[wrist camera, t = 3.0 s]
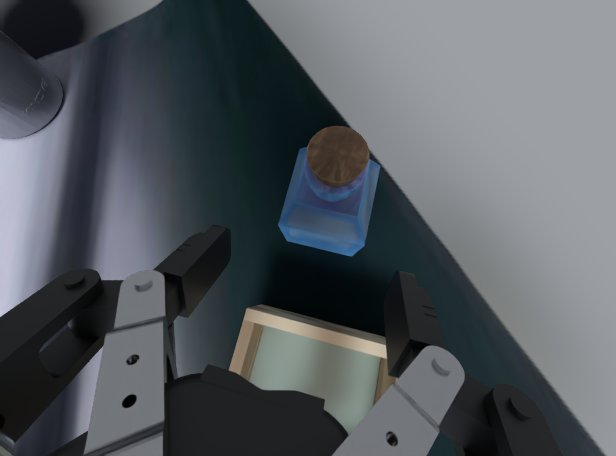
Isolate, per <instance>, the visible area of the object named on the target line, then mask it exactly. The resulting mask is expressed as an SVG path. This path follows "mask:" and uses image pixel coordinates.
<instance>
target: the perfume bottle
mask: <svg viewBox="0 0 616 456" xmlns="http://www.w3.org/2000/svg"><path fill="white" fill-rule="evenodd" d="M379 170H380V165H378V164H377V163H375V162H373V161H372V160H370V159H369V149H368V146H367V143H366V141H365V140H364V139H363V137H362V136H361V135H360V134H359V133H357V132H356V131H355V130H353V129H350V128H347V127H344V126H332V127H327V128H324V129H323V130H321V131H319V132H317V133H316V134H315V135H314V136H313V137H312V138H311V140H310V142H309V144H308V147H306V148H301V149H300V150H299V154H298V157H297V161H296V164H295V168H294V171H293V175H292V178H291V182H290V185H289V189H288V192H287V196H286V199H285V203H284V206H283V210H282V213H281V217H280V220H279V224H278V226H279V228H280V229H281V231H282V233H283V235H284V236H285V238H286V240H287V241H289V242H293V243H298V244H302V245H306V246H310V247H314V248H318V249H322V250H326V251H330V252H335V253H339V254H343V255H347V256H353V255H354V254H355V253H356V252H357V251H359V250H360V249H361V248H362V247H363V246H364V245H365V240H366V235H367V230H368V225H369V220H370V215H371V210H372V205H373V200H374V195H375V190H376V185H377V180H378V175H379Z"/></svg>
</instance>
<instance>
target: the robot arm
mask: <svg viewBox="0 0 616 456" xmlns="http://www.w3.org/2000/svg"><path fill="white" fill-rule="evenodd" d="M62 97H63V90H62V86H61V83H60V81H59V80H58V79H57V77H56V76H54V75H53V74H52V73H51V72H50V71H48V70H47V69H46V68H45V67H44V66H42V65H41V64H40V63H39V62H37V61H36V60H35V59H34V58H33V57H31V56H30V55H29V54H28V53H26V52H25V51H24V50H23V49H22V48H20V47H19V46H18V45H17V44H16V43H15V42H13V41H12V40H11V39H10V38H9V37H7V36H6V35H5V34H4V33H3V32H1V31H0V138H3V139H16V138H22V137H25V136H28V135H30V134H32V133H34V132H36V131H38V130H40V129H41V128H42V127H44V126H45V125H46V124H47V123H48V122H49V121H50V120H51V119H52V118H53V117H54V116H55V114H56V113H57V111H58V109H59V107H60V105H61V102H62ZM230 256H231V233H230V229H229V228H225V227H221V226H217V225H212V226H211V227H210V228H209V229H208V230H207V231H206V232H205V233H202V232H200V233H198V234H195V235H193V236H191V237H189V238H188V239H187V240H186V241H185V242H184V243H183V244H182V245H180V246H179V247H178V248H177V250H175V251H174V252H173V253H171V254H170V255H169V256H168V257H167V258H166V259H165V260H164V261H163V262H161V263H160V264H159V265H158V266H157V267H156V268H155V269H154V270H146V271H140V272H137V273H135V274H132V275H130V276H129V277H127V278H126V279H125V280H101V278H100V275H99V273H98V272H97V271H95V270H92V269H79V270H74V271H71V272H68V273H65V274H63V275H61V276H59V277H58V278H56V279H55V280H53V281H52V282H50V283H49V284H47V285H46V286H45V287H43V288H42V289H40V290H39V291H37V292H36V293H34V294H33V295H32V296H30V297H29V298H27V299H26V300H24V301H23V302H21V303H20V304H19V305H17V306H16V307H14V308H13V309H11V310H10V311H8V312H7V313H6V314H4V315H3V316H1V317H0V456H12V455H13V452H14V443H15V442H16V441H17V440H18V439H19V438H20V437H21V436H22V434H23V433H24V432H25V431H26V430H27V429H28V428H29V427H30V426H31V425H32V423H33V422H34V421H35V420H36V419H37V418H38V417H39V416H40V415H41V414H42V412H43V411H44V410H45V409H46V408H47V407H48V406H49V405H50V404H51V403H52V401H53V400H54V399H55V398H56V397H57V396H58V395H59V394H60V393H61V392H62V390H63V389H64V388H65V387H66V386H67V385H68V384H69V383H70V382H71V381H72V380H73V378H74V377H75V376H76V375H77V374H78V373H79V372H80V371H81V370H82V369H83V367H84V366H85V365H86V364H87V363H88V362H89V361H90V360H91V359H92V358H93V356H94V355H95V354H96V353H97V352H98V351H99V350H100V349H101V348H102V347H103V345H104V347H103V352H102V358H101V363H100V369H99V374H98V380H97V385H96V391H95V396H94V402H93V407H92V413H91V418H90V424H89V430H88V431H87V432H85V433H83V434H82V435H80V436H79V437H77V438H75V439H74V440H72V441H70V442H69V443H67V444H65V445H64V446H62V447H60V448H59V449H57V450H55V451H54V452H52V453H50V454H49V455H47V456H426V455H427V453H428V452H429V450H430V448H431V446H432V444H433V443H434V441H435V439H436V437H437V435H438V433H439V431H440V432H441V433H443V434H444V435H446V436H447V437H449V438H450V439H452V440H453V441H454V445H455V450H456V455H457V456H562V454H561V452H560V450H559V448H558V446H557V444H556V441H555V439H554V437H553V435H552V433H551V431H550V429H549V427H548V425H547V422H546V420H545V418H544V416H543V414H542V413H541V411H540V410H539V408H538V407H537V406H536V404H535V403H534V402H533V401H532V400H531V399H530V398H529V397H528V396H527V395H526V394H524V393H523V392H522V391H520V390H518V389H517V388H515V387H513V386H510V385H507V384H498V385H496V386H495V387H494V388H493V389H491V388H489V387H488V386H486V385H484V384H482V383H480V382H479V381H477V380H475V379H473V378H471V377H470V376H468V375H467V374H465V373H464V371H463V368H462V366H461V365H460V363H459V362H458V360H457V359H456V358H455V357H454V356H453V355H452V354H451V353H449V352H448V351H447V349H446V346H445V342H444V339H443V336H442V332H441V329H440V325H439V322H438V319H437V315H436V312H435V310H434V305H433V302H432V298H431V297H430V296H429V294H428V293H427V292H426V290H425V289H424V288H421V287H418V285H417V281H416V277H415V275H414V274H411V273H407V272H403V271H399V270H397V271H396V272H395V274H394V276H393V278H392V280H391V282H390V285H389V287H388V289H387V291H386V294H385V297H384V302H383V311H384V325H385V339H386V353H387V366H388V376H392V377H395V378H398V380H397V381H396V382H395V383H393V384H392V385H391V386H390V387H389V388H388V389H387V391H386V392H385V393H384V394H383V395H382V397H381V398H380V399H379V400H378V401H377V403H376V404H375V405H374V406H373V407H372V409H371V410H370V411H369V412H368V413H367V414H366V416H365V417H364V418H363V419H362V420H361V422H360V423H359V424H358V425H357V426H356V428H355V429H354V430H353V431H352V432H351V434H350V435H349V434H348V433H347V431H346V430H345V428H344V427H343V426H342V425H341V423H340V422H339V421H338V420H337V419H336V418H335V417H334V416H332V415H331V414H330V413H329V412H327V411H326V410H324V404H325V399H323V398H319V397H316V396H313V395H309V394H306V393H303V392H299V391H296V390H262V389H260V388H258V387H257V386H255V385H254V384H252V383H251V382H249V381H248V380H246V379H245V378H243V377H242V376H240V375H239V374H237V373H236V372H232V371H229V370H226V369H222V368H219V367H216V366H212V365H209V364H208V365H207V367H206V368H205V370H204V372H203V373H198V374H191V375H186V376H183V377H180V378H178V376H177V368H176V355H175V337H174V323H173V321H174V320H175V319H176V317H177V316H178V315H180V316H183V317H187V318H188V317H189V316H190V314H191V313H192V312H193V310H194V309H195V308H196V306H197V305H198V304H199V302H200V301H201V300H202V298H203V297H204V296H205V294H206V293H207V292H208V290H209V289H210V288H211V286H212V285H213V284H214V282H215V281H216V280H217V278H218V277H219V276H220V274H221V273H222V272H223V270H224V269H225V268H226V266H227V265H228V263H229V260H230ZM66 324H68V325H69V327H68V328H67V329H66V330H65V331H64V332H63V333H61V334H60V335H59V336H58V337H57V338H56V339H55V340H54V341H53V342H51V343H50V344H49V345H48V346H47V347H46V348H45V349H44V350H42V351H41V352H40V353H39V351H40V349H41V347H42V346H43V345H44V343H45V342H46V341H48V340H49V339H50V338H51V337H52V336H53V335H54V334H56V333H57V332H58V331H59V330H60V329H61V328H62V327H64V326H65V325H66Z"/></svg>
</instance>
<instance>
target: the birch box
mask: <svg viewBox="0 0 616 456" xmlns="http://www.w3.org/2000/svg"><path fill="white" fill-rule="evenodd" d="M229 371H232V372H236V373H237V374H239V375H240V376H242V377H243V378H245V379H246V380H248V381H249V382H251V383H252V384H254V385H255V386H257V387H258V388H260V389H262V390H296V391H299V392H303V393H306V394H309V395H313V396H316V397H319V398H323V399H325V404H324V410H326V411H327V412H329V413H330V414H331V415H332V416H334V417H335V418H336V419H337V420H338V421H339V422H340V423H341V425H342V426H343V427H344V428H345V430H346V431H347V433H348V434H349V435H350V434H351V432H352V431H353V430H354V429H355V428H356V426H357V425H358V424H359V423H360V422H361V420H362V419H363V418H364V417H365V416H366V414H367V413H368V412H369V411H370V410H371V409H372V407H373V406H374V405H375V404H376V403H377V401H378V400H379V399H380V398H381V397H382V395H383V394H384V393H385V392H386V391H387V389H388V388H389V387H390V386H391V385H392V384H393V383H395V382H396V381H397V380H398V378H395V377H392V376H388V366H387V353H386V339H385V337H383V336H380V335H376V334H372V333H368V332H365V331H361V330H357V329H353V328H350V327H346V326H342V325H338V324H335V323H331V322H327V321H323V320H319V319H316V318H312V317H308V316H304V315H301V314H297V313H293V312H289V311H286V310H282V309H278V308H274V307H271V306H267V305H263V304H261V305H257V306H253V307H249V308H247V310H246V313H245V317H244V320H243V324H242V327H241V330H240V334H239V337H238V341H237V344H236V348H235V351H234V355H233V358H232V361H231V365H230V368H229Z"/></svg>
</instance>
